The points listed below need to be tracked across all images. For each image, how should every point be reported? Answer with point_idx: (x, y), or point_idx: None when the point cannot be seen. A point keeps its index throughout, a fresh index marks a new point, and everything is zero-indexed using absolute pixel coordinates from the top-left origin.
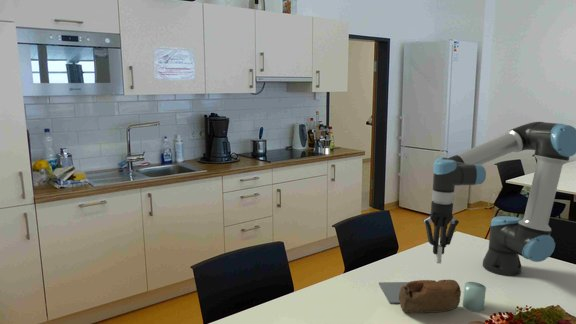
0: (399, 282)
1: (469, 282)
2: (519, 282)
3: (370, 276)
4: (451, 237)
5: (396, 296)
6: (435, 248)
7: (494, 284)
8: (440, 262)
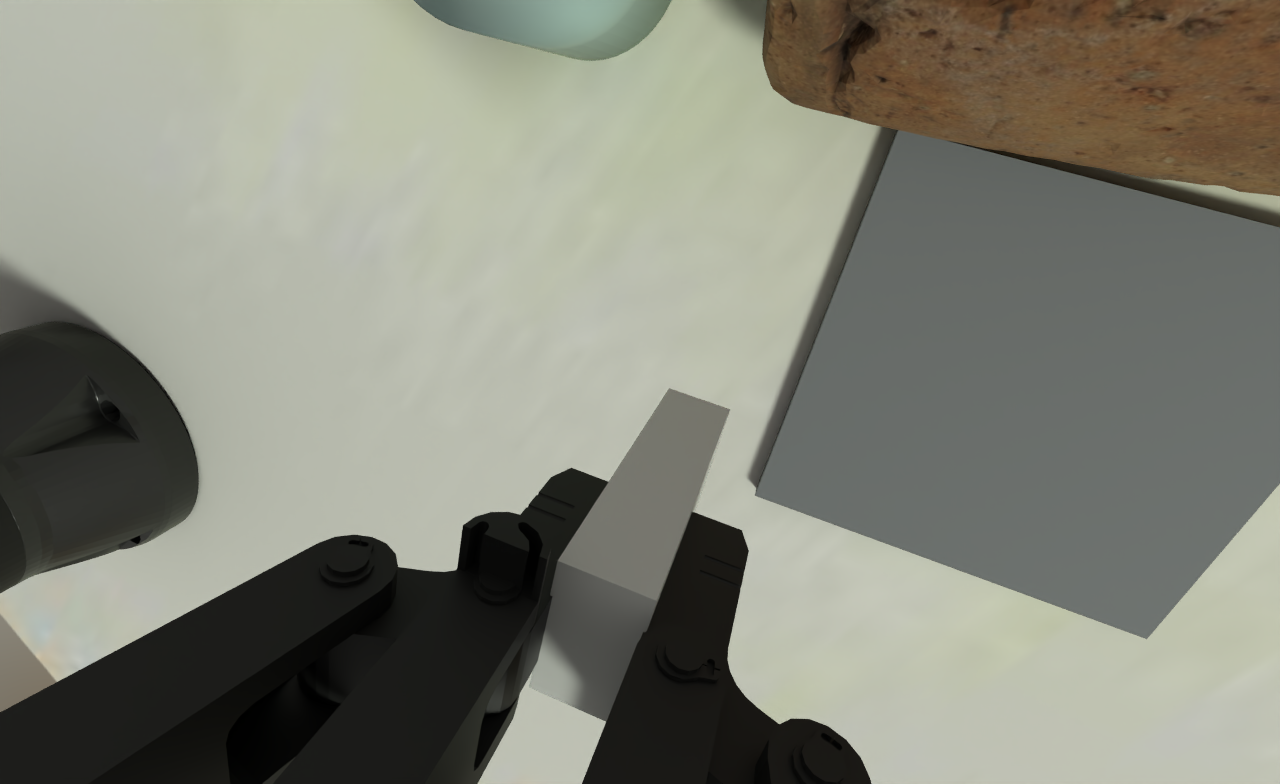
0: (949, 559)
1: (486, 15)
2: (70, 232)
3: (1093, 742)
4: (103, 678)
5: (1234, 361)
6: (710, 614)
7: (232, 265)
8: (675, 397)
